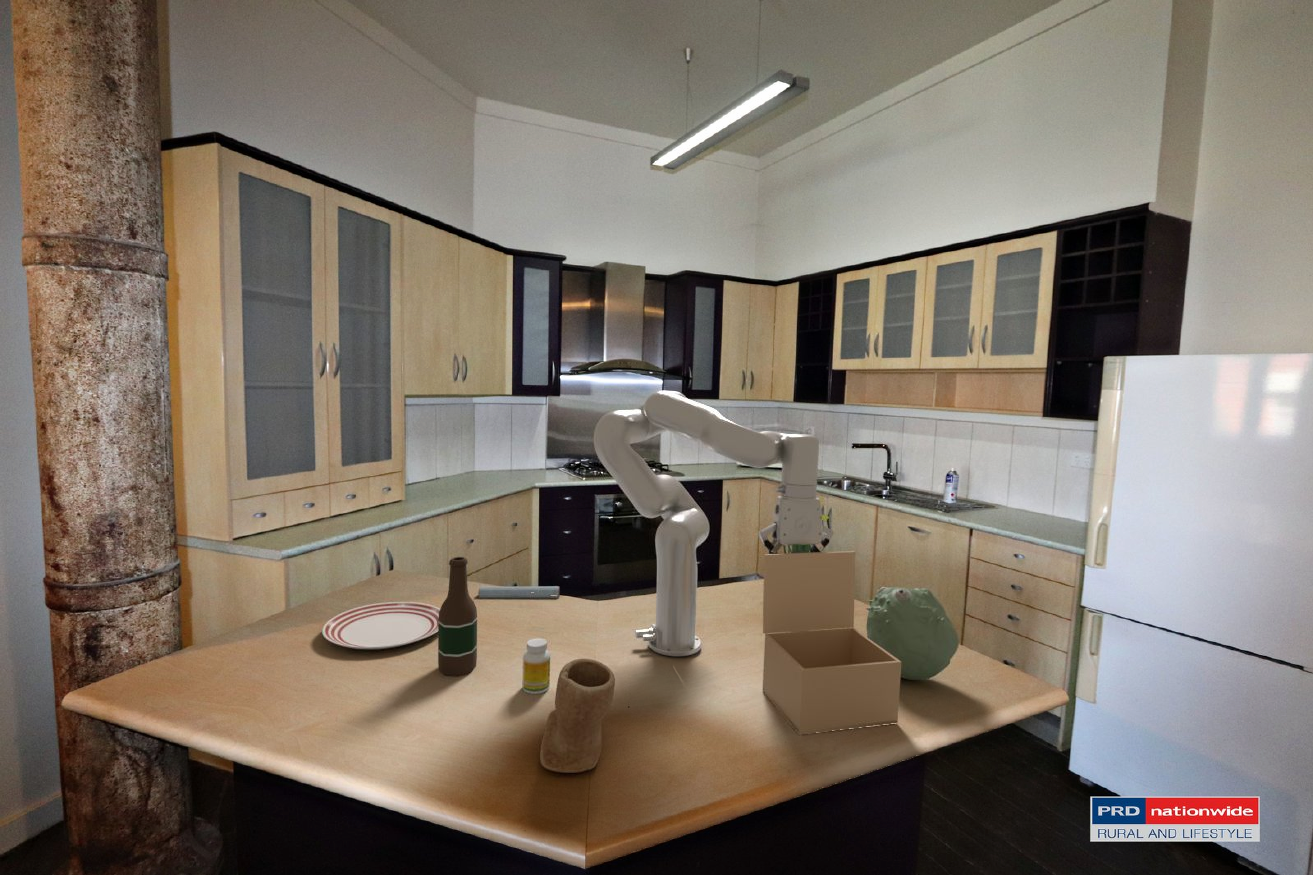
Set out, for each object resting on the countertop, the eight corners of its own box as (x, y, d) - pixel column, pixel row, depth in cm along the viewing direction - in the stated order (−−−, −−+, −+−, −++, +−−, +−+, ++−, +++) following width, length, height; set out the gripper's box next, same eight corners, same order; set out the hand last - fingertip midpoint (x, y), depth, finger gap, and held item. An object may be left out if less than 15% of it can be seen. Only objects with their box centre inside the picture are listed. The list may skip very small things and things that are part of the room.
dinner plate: (467, 618, 154) (467, 606, 154) (405, 665, 127) (405, 650, 127) (372, 608, 159) (372, 596, 159) (293, 652, 132) (293, 637, 132)
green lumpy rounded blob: (971, 693, 123) (978, 599, 121) (883, 695, 121) (890, 599, 119) (929, 659, 138) (935, 575, 137) (851, 660, 136) (856, 575, 135)
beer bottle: (484, 665, 128) (485, 556, 126) (458, 681, 121) (459, 566, 119) (456, 658, 131) (457, 551, 129) (429, 672, 124) (430, 560, 122)
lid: (765, 554, 120) (750, 547, 128) (763, 633, 120) (748, 621, 128) (855, 551, 125) (835, 544, 133) (853, 627, 125) (834, 616, 133)
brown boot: (611, 780, 92) (613, 687, 91) (534, 779, 92) (535, 685, 90) (614, 725, 107) (617, 644, 106) (548, 724, 107) (550, 643, 105)
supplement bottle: (519, 684, 120) (520, 638, 120) (545, 679, 123) (546, 634, 122) (526, 697, 116) (526, 649, 115) (552, 692, 118) (553, 645, 117)
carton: (799, 735, 106) (802, 670, 105) (762, 690, 121) (765, 633, 120) (897, 724, 110) (901, 661, 109) (850, 682, 126) (853, 627, 125)
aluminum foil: (559, 596, 174) (560, 584, 174) (558, 604, 167) (558, 592, 167) (480, 596, 171) (480, 585, 171) (475, 604, 165) (476, 592, 164)
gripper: (768, 494, 123) (764, 575, 124) (843, 494, 127) (839, 572, 128) (754, 488, 130) (750, 565, 131) (825, 488, 134) (821, 562, 135)
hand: (794, 568), depth 130 cm, fingers open, 9 cm apart
